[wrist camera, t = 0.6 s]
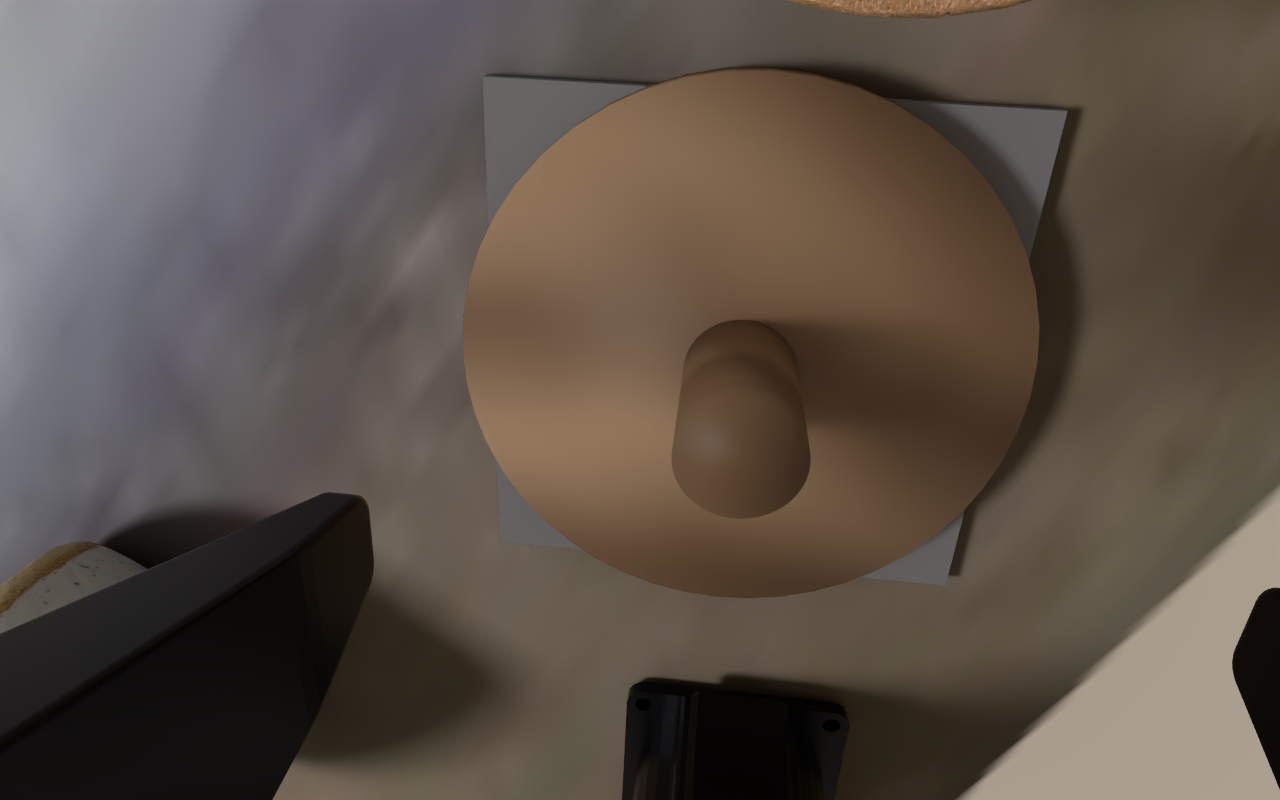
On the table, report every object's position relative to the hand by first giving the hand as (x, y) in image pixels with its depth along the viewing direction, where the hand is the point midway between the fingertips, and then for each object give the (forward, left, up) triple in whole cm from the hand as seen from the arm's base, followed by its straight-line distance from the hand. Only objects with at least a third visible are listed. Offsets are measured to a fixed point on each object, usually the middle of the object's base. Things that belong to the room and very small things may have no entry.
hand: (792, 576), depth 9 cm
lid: (-3, 0, -12) cm, 12 cm away
